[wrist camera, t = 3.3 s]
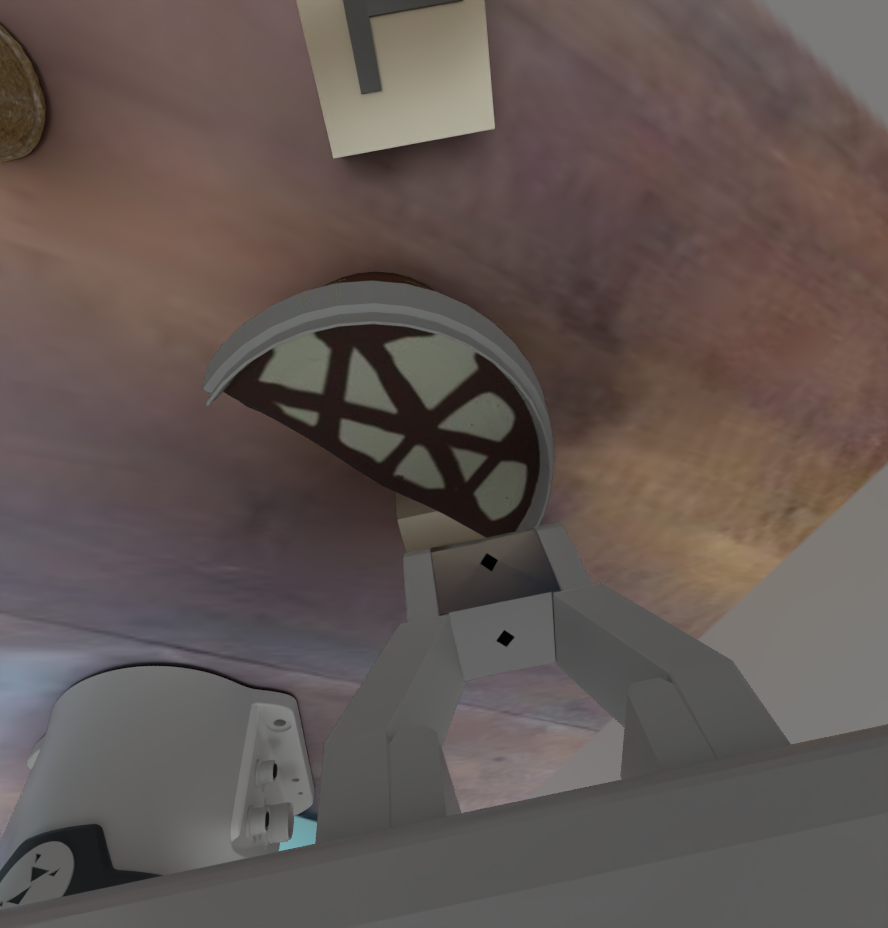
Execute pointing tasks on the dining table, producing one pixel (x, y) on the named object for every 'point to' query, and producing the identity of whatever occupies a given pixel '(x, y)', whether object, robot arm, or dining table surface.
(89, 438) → the dining table surface
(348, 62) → the numbered block seven
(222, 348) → the food container
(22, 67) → the sprinkles bottle
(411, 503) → the numbered block one
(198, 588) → the dining table surface
